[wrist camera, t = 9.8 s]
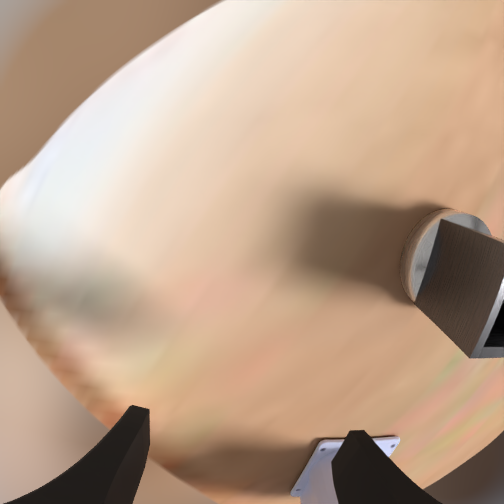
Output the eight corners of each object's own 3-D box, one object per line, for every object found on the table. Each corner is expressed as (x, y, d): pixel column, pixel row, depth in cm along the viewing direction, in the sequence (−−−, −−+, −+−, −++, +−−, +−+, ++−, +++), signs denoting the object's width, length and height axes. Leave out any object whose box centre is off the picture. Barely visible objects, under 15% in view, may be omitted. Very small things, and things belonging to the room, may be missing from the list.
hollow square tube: (470, 311, 17) (524, 356, 11) (413, 303, 17) (469, 358, 11) (495, 237, 16) (560, 266, 10) (440, 218, 15) (513, 247, 9)
